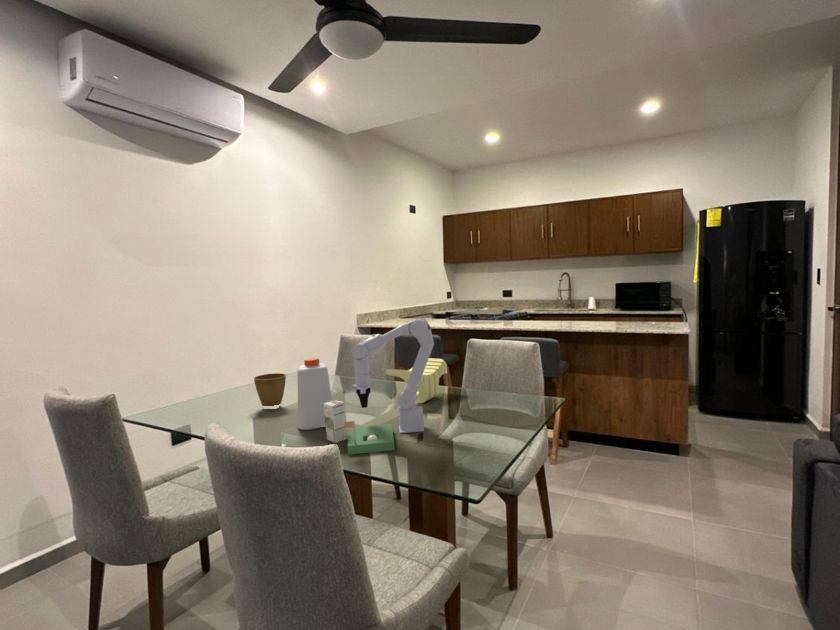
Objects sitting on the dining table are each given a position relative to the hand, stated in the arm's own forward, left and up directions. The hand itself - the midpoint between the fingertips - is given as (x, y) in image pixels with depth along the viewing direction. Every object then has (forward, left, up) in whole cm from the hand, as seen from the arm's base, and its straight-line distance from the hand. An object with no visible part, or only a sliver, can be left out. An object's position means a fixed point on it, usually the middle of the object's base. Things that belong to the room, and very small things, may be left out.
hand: (364, 407), depth 177 cm
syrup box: (+11, +8, -10) cm, 17 cm away
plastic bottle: (+21, -14, -10) cm, 27 cm away
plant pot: (+46, -47, -10) cm, 66 cm away
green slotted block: (-2, +14, -9) cm, 17 cm away
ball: (-3, +19, -7) cm, 20 cm away
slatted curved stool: (-26, -40, -10) cm, 48 cm away
